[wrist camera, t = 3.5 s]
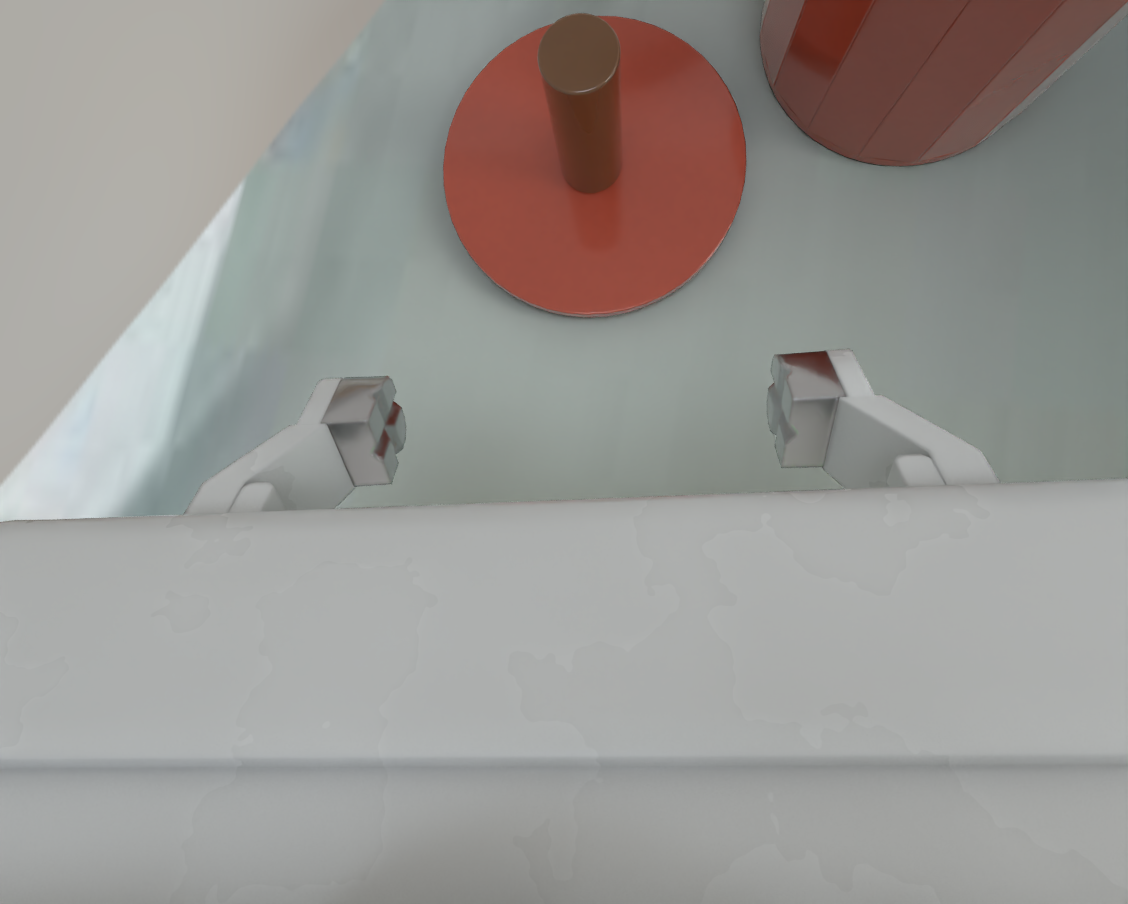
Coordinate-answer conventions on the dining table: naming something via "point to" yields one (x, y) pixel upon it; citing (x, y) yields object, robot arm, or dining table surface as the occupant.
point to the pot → (920, 68)
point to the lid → (594, 166)
